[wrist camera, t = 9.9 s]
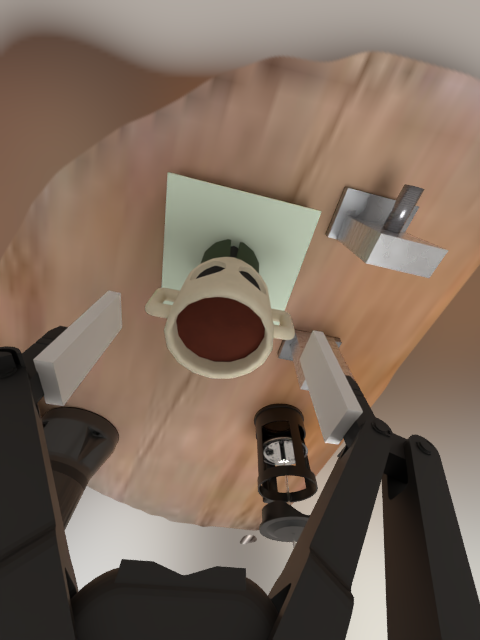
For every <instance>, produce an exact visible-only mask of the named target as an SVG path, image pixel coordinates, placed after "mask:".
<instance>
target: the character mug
mask: <svg viewBox="0 0 480 640" xmlns="http://www.w3.org/2000/svg"><path fill="white" fill-rule="evenodd" d="M164 301H171V302H174V303H173V305H168V304H162V303H163V302H164ZM145 311H146V312H147V314H149V315H152V316H156V317H162V318H167V322H166V325H165V328H164V334H165V339H166V344H167V348H168V349H169V351H170V352H171V353H172V355H173V356H174V358H175V359H176V360H177V362H178V363H180V364H181V365H183V366H184V367H186V368H187V369H188V370H190V371H191V372H193V373H195V374H199V375H202V376H205V377H208V378H211V379H232V378H235V377H239V376H243V375H246V374H249V373H250V372H252V371H253V370H255V369H256V368H258V367H259V366H261V365H262V364H263V363H264V362H265V360H266V359H267V357H268V356H269V354H270V353H271V351H272V348H273V338H277V339H282V340H291V339H293V338H294V336H295V330H294V326H293V322H292V319H291V316H290V314H289V313H288V312H285V311H282V310H277V309H272V308H271V305H270V299H269V293H268V288H267V285H266V283H265V282H264V280H263V278H262V277H261V275H260V274H259V262H258V260H257V257H256V255H255V253H254V251H253V250H252V249H251V248H249V247H248V246H247V245H246V244H245V243H243V242H240V244H239V248H237V247H235V246H231V240H230V239H226V240H223V241H219V242H216V243H214V244H213V245H212V246H211V247H210V248H208V249H207V250H206V251H205V253H204V256H203V258H202V261H201V263H200V265H198V266H197V267H196V268H194V269H193V270H192V271H191V272H190V273H189V275H188V277H187V278H186V280H185V282H184V284H183V286H182V288H181V290H180V291H179V290H174V289H169V288H158V289H156V291H155V292H154V293H153V295H152V296H151V298H150V299H149V300H148V302H147V304H146V305H145ZM273 321H277V322H280V325H281V326H280V325H274V324H273Z"/></svg>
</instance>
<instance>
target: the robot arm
mask: <svg viewBox="0 0 480 640" xmlns="http://www.w3.org/2000/svg"><path fill="white" fill-rule="evenodd" d="M121 329H122V311H121V293H119V292H114V291H107V292H106V293H105V294H104V295H103V296H102V297H101V298H100V299H99V300H98V301H96V302H95V303H94V304H93V305H92V306H91V307H90V308H89V309H88V310H87V311H86V312H84V313H83V314H82V315H81V316H80V317H79V318H78V319H77V320H76V321H75V322H74V323H72V324H71V325H70V326H69V327H63V326H59V327H57V328H54V329H52V330H50V331H48V332H47V333H46V334H45V335H44V336H43V337H42V338H40V339H39V340H38V341H37V342H36V343H34V344H33V345H32V346H31V347H29V348H28V349H27V350H26V351H25V352H24V353H21V351H20V350H19V349H17V348H15V347H0V640H345V638H346V634H347V630H348V626H349V623H350V619H351V615H352V610H353V605H354V597H353V595H352V593H351V586H352V582H353V578H354V575H355V571H356V568H357V564H358V560H359V557H360V553H361V549H362V546H363V543H364V539H365V536H366V532H367V529H368V525H369V522H370V518H371V514H372V511H373V507H374V504H375V500H376V497H377V493H378V490H379V486H380V482H381V479H382V498H383V524H384V550H385V551H384V552H385V579H386V606H387V632H388V640H480V602H479V599H478V595H477V591H476V588H475V584H474V580H473V577H472V573H471V569H470V566H469V562H468V558H467V555H466V551H465V547H464V543H463V540H462V536H461V532H460V529H459V525H458V521H457V517H456V514H455V511H454V506H453V503H452V499H451V495H450V492H449V488H448V484H447V480H446V477H445V473H444V470H443V466H442V462H441V458H440V455H439V453H438V451H437V449H436V448H435V447H434V445H433V444H432V443H430V442H429V441H428V440H426V439H425V438H423V437H421V436H419V435H412V436H410V437H409V439H405V438H402V437H401V436H398V435H396V434H394V433H392V431H391V429H390V428H389V426H388V425H387V424H386V423H384V422H383V421H382V420H380V419H378V418H376V417H375V416H374V414H373V412H372V410H371V408H370V406H369V404H368V403H367V401H366V399H365V397H364V395H363V393H362V392H361V390H360V388H359V386H358V384H357V383H356V382H355V380H354V379H353V378H352V377H351V376H347V375H344V373H343V371H342V369H341V367H340V365H339V363H338V361H337V359H336V357H335V355H334V353H333V351H332V349H331V347H330V345H329V343H328V341H327V339H326V337H325V335H324V333H323V332H320V331H314V330H313V331H312V333H311V335H310V338H309V340H308V342H307V344H306V346H305V348H304V350H303V353H302V355H301V357H300V359H299V360H300V363H301V366H302V369H303V373H304V376H305V379H306V383H307V386H308V389H309V392H310V396H311V399H312V402H313V405H314V409H315V412H316V415H317V418H318V422H319V425H320V428H321V431H322V435H323V438H324V441H325V443H332V444H339V443H340V442H341V440H342V439H343V438H344V440H345V443H346V446H345V447H344V448H343V449H342V451H341V452H340V453H339V454H338V457H339V458H338V460H337V462H336V464H335V466H334V468H333V470H332V472H331V474H330V476H329V479H328V480H327V482H326V485H325V487H324V489H323V491H322V493H321V495H320V497H319V499H318V501H317V503H316V505H315V507H314V509H313V511H312V513H311V515H310V517H309V519H308V521H307V523H306V525H305V527H304V529H303V531H302V533H301V535H300V537H299V539H298V541H297V543H296V545H295V547H294V549H293V551H292V553H291V555H290V558H289V560H288V562H287V564H286V566H285V568H284V570H283V571H282V573H281V575H280V577H279V578H278V579H277V581H276V582H275V584H274V586H273V588H272V589H271V591H270V593H269V595H268V596H267V594H266V593H265V592H264V591H263V590H262V589H261V588H260V587H259V586H258V585H257V584H256V583H254V582H253V581H252V580H250V579H248V578H246V569H245V568H232V567H219V566H216V567H213V568H209V569H206V570H203V571H199V572H196V573H193V574H189V575H181V574H179V573H176V572H174V571H172V570H170V569H168V568H166V567H164V566H162V565H159V564H157V563H155V562H152V561H138V560H125V559H122V561H121V564H120V567H119V568H116V569H113V570H111V571H108V572H106V573H104V574H102V575H100V576H99V577H97V578H95V579H94V580H92V581H91V582H90V583H88V584H87V585H85V586H84V587H83V588H82V589H81V590H80V591H79V592H78V587H77V583H76V578H75V574H74V570H73V566H72V563H71V559H70V555H69V550H68V545H67V540H66V535H65V529H66V527H67V525H68V523H69V520H70V519H71V516H72V514H73V512H74V510H75V508H76V506H77V504H78V502H79V500H80V498H81V496H82V494H83V491H84V490H85V488H86V486H87V484H88V482H89V480H90V479H91V477H92V476H93V475H94V474H95V473H96V472H97V471H98V469H99V468H100V467H101V466H102V465H103V464H104V462H105V461H106V460H107V459H108V458H109V457H110V455H111V454H112V453H113V451H114V449H115V447H116V445H117V443H118V440H119V436H118V433H117V431H116V429H115V428H114V427H113V425H112V424H110V423H109V422H108V421H107V420H105V419H104V418H102V417H100V416H98V415H96V414H94V413H91V412H88V411H85V410H81V409H76V408H57V409H53V410H50V411H48V412H47V413H45V414H44V415H43V417H42V418H41V415H40V410H39V406H38V403H37V402H38V401H39V400H40V399H41V398H42V397H43V396H44V398H45V402H46V404H52V405H60V406H64V405H65V403H66V402H67V401H68V399H69V398H70V397H71V395H72V394H73V393H74V391H75V390H76V389H77V387H78V386H79V385H80V383H81V382H82V381H83V379H84V378H85V377H86V375H87V374H88V373H89V371H90V370H91V369H92V367H93V366H94V365H95V363H96V362H97V361H98V359H99V358H100V357H101V355H102V354H103V353H104V351H105V350H106V349H107V347H108V346H109V345H110V343H111V342H112V341H113V339H114V338H115V337H116V335H117V334H118V333H119V331H120V330H121Z"/></svg>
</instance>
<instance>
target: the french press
mask: <svg viewBox="0 0 480 640" xmlns="http://www.w3.org/2000/svg"><path fill="white" fill-rule="evenodd" d="M277 421H287V422H289V427H290V429H289V430H286V431H281V432H275V431H270V430H267V429H266V428H264V427H263V426H264V425H266V424H269V423H272V422H277ZM303 421H304V418H303V415H302V413H301V411H300V410H299V409H297V408H296V407H293V406H291V405H287V404H273V405H269V406H266V407H264V408H262V409H261V410H259V411H258V412H257V414H256V415H255V418H254V424H255V426H256V439H257V449H258V474H259V477H258V492H259V494H260V495H261V496H262V497H263V502H264V503H268V504H267V505H265V506H264V507H263V509H262V523H261V524H260V526H259V530H260V533H261V534H262V535H263V536H265V537H267V538H269V539H272V540H277V541H282V542H293V547H295V545H296V542H297V541H298V539H299V537H300V535H301V533H302V531H303V529H304V527H305V525H306V523H307V521H308V519H309V517H310V515H304V514H302V513H301V512H299V511H297V510H296V509H294V508H293V507H292V506H291V503H290V502H297V501H302V500H305V499H307V498H310V497H311V496H313V495H314V494H315V493H316V492H317V489H318V487H317V482H316V478H315V475H314V473H313V472H311V470H310V466H309V461H308V456H307V453H308V449H307V447H306V446H305V442H304V438H305V435H306V433H305V428H304V424H303ZM295 463H296V466H293V465H291V464H295ZM275 465H279V466H276V467H275ZM287 475H293V476H300V477H304V478H305V483H306V489H304V490H301V491H297V492H291V493H289V488H288V480H287ZM278 476H285V483H286V491H287V493H279V492H278V490H277V480H276V477H278ZM261 484H262V486H261ZM286 502H288V503H286Z"/></svg>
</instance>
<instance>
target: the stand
mask: <svg viewBox="0 0 480 640" xmlns="http://www.w3.org/2000/svg"><path fill="white" fill-rule="evenodd" d="M320 214H321V211H319V210H315V209H312V208H308V207H304V206H300V205H296V204H292V203H288V202H284V201H280V200H276V199H272V198H268V197H265V196H261V195H257V194H253V193H249V192H245V191H241V190H237V189H233V188H229V187H225V186H221V185H218V184H214V183H210V182H206V181H202V180H198V179H194V178H190V177H186V176H182V175H178V174H174V173H170V172H168V177H167V195H166V214H165V233H164V251H163V270H162V288H169V289H174V290H179V291H180V290H181V288H182V286H183V284H184V282H185V280H186V278H187V277H188V275H189V273H190V272H191V271H192V270H193V269H194V268H196V267H197V266H198V265H200V263H201V261H202V258H203V256H204V253H205V251H206V250H207V249H208V248H210V247H211V246H212V245H213V244H214V243H216V242H219V241H223V240H226V239H230V240H231V246H235V247H237V248H239V244H240V242H243V243H245V244H246V245H247V246H248V247H249V248H251V249H252V250H253V251H254V253H255V255H256V257H257V260H258V262H259V274H260V275H261V277H262V278H263V280H264V282H265V283H266V285H267V288H268V293H269V299H270V305H271V308H272V309H277V310H282V311H284V310H285V308H286V305H287V302H288V300H289V297H290V294H291V292H292V289H293V286H294V284H295V281H296V278H297V276H298V273H299V270H300V268H301V265H302V262H303V260H304V257H305V254H306V252H307V249H308V246H309V244H310V241H311V238H312V236H313V233H314V230H315V228H316V225H317V222H318V220H319V217H320ZM173 303H174V302H171V301H164V302H163V303H162V304H168V305H173ZM273 324H274V325H279V324H280V322H277V321H273Z"/></svg>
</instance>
